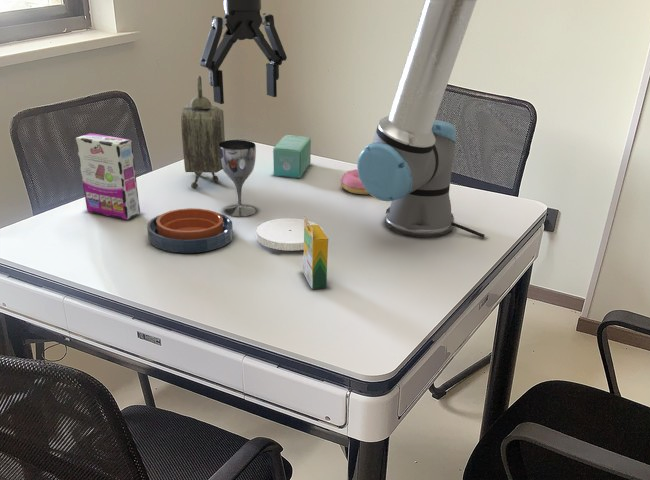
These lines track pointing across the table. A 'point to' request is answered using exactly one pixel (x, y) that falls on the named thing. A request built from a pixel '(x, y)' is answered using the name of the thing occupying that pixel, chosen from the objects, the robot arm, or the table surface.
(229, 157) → the wine glass
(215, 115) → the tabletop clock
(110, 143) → the candy bar box
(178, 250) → the serving bowl
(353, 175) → the doughnut
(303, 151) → the box
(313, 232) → the crayon box
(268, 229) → the plastic lid
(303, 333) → the table surface
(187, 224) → the small bowl
